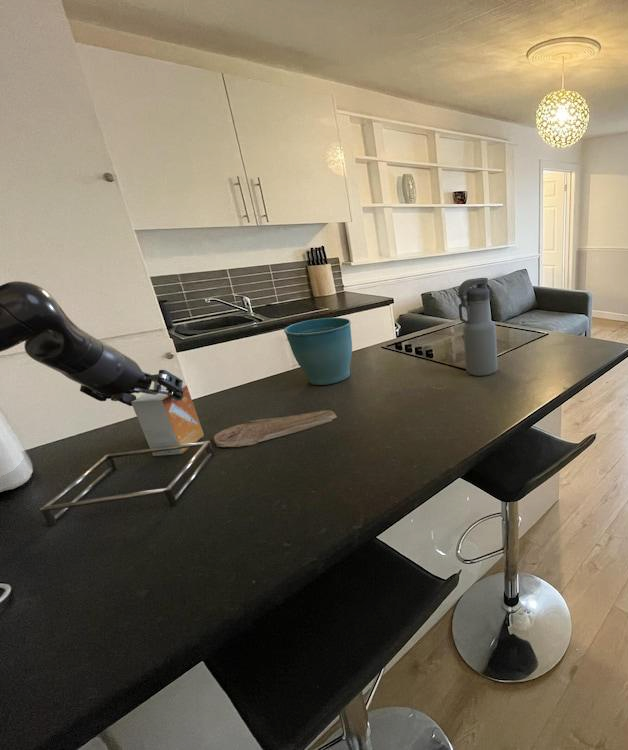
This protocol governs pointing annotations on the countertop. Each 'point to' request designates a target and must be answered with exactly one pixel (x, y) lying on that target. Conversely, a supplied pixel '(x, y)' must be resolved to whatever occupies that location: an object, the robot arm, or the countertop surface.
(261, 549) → the countertop surface
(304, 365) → the flower pot
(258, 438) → the fish fossil
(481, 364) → the water bottle
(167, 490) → the metal rack
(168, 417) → the small box
